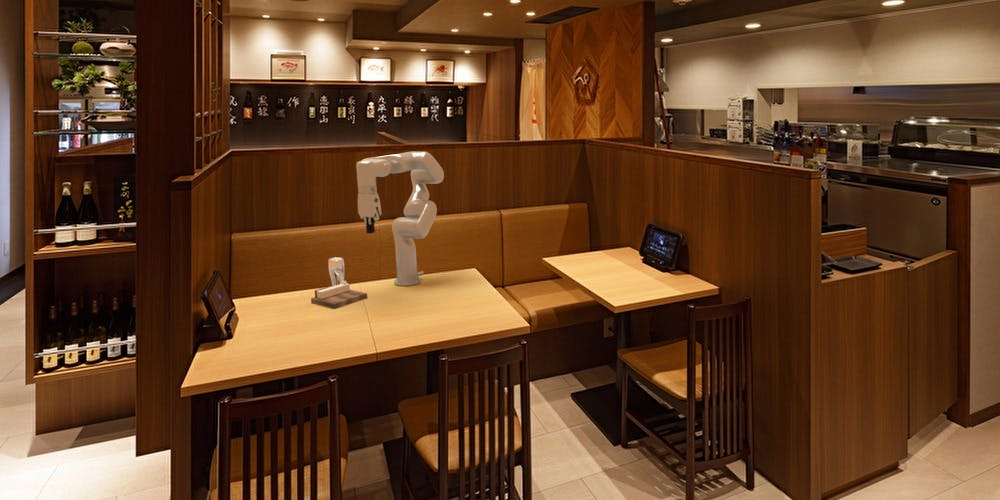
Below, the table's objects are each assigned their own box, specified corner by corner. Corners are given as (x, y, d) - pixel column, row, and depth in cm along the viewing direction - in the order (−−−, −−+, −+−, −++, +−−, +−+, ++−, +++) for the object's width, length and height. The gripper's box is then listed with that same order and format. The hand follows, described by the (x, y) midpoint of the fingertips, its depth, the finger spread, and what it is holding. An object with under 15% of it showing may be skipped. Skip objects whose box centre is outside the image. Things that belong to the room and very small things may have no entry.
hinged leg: (345, 289, 253) (344, 279, 252) (349, 290, 252) (349, 280, 251) (317, 297, 242) (316, 287, 241) (321, 298, 240) (320, 289, 239)
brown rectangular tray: (344, 292, 256) (343, 281, 255) (367, 297, 248) (366, 286, 247) (311, 302, 242) (310, 291, 241) (334, 308, 234) (333, 297, 232)
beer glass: (342, 293, 255) (339, 260, 252) (327, 292, 257) (325, 260, 253) (348, 288, 262) (346, 257, 259) (335, 288, 263) (332, 256, 260)
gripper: (386, 190, 237) (389, 233, 242) (362, 188, 246) (365, 229, 250) (372, 192, 232) (376, 236, 236) (348, 190, 240) (352, 232, 244)
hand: (370, 232), depth 243 cm, fingers closed
